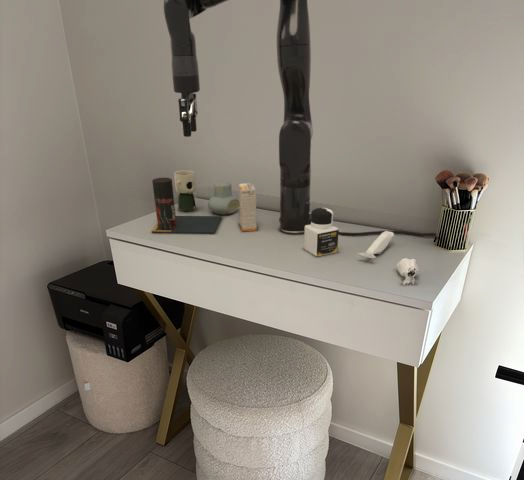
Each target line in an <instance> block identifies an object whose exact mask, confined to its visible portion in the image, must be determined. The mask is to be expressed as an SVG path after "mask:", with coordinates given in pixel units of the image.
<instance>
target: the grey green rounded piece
mask: <svg viewBox="0 0 524 480" xmlns="http://www.w3.org/2000/svg"><path fill="white" fill-rule="evenodd" d="M232 188H233V187H232V183H231V182H230V181H223V180H222V181H217V182H215V183H214V184H213V189H214V191H213V192H214V195H212V196H211V197H210V198H209V200H208V201H207V206H208V209H209V210H210V211H211V212H212V213H214V214H217V215H223V216H225V215H226V216H228V215H232V214H233V213H235V212H236V211H237V210H239V208H240V207H239V197H236V196H235V195H234V194H233V190H232Z"/></svg>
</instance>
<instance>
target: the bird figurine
mask: <svg viewBox="0 0 524 480" xmlns="http://www.w3.org/2000/svg"><path fill="white" fill-rule="evenodd" d="M395 269H396V270H397V271H398V273H399V274H400V276H401V277H404V278H405V279H404V280H403V281H402V285H404V286H405V285H409V284H413V285H415V282H416V279H415V277H416V276H417V275H419V274H420V271H419V268H418V265H417V261H416V258H411V259H410V258H409V257H408V258H407V257H405V258H402V259H401V260H399V262H397V266H396V267H395Z"/></svg>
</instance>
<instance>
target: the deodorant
mask: <svg viewBox="0 0 524 480" xmlns="http://www.w3.org/2000/svg"><path fill="white" fill-rule="evenodd" d="M151 182H152V189H153V190H152V191H153V198H154V205H155V215H156V221H157V222H156V223H157V224H158V229H160V230H173V229H175V228H176V227H177V225H176V216H177V215H176V207H175V198H174V188H173V186H174V185H173V179H172V178H171V177H157V178H153V179H152V181H151Z"/></svg>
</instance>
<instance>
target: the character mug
mask: <svg viewBox="0 0 524 480" xmlns="http://www.w3.org/2000/svg"><path fill="white" fill-rule="evenodd" d="M195 175H196V173H195V171H193V170H190V169H189V170H187V169H185V170H183V169H182V170H177V171H174V172H173V177H174V186H175V187H174V188H175V189H174V190H175V192H176V193H178V198H177V199H178V201H177V202H178V204H177V205H178V206H177V207H178V210H181V211H184V212H190V211H191V212H192V211H195V210H196V209H197V205H196V198H195V196H194V192H196V190H197V186H196V176H195Z"/></svg>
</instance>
